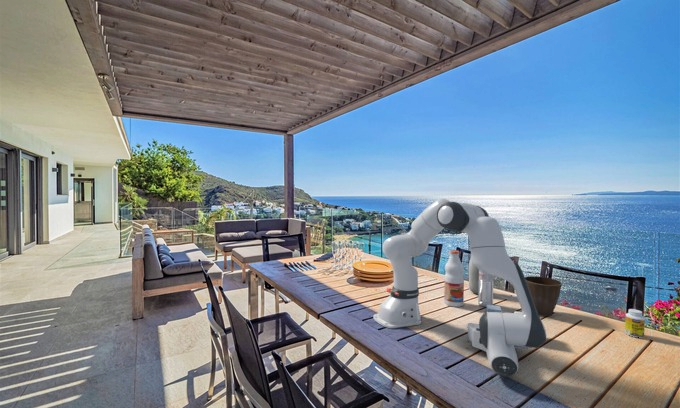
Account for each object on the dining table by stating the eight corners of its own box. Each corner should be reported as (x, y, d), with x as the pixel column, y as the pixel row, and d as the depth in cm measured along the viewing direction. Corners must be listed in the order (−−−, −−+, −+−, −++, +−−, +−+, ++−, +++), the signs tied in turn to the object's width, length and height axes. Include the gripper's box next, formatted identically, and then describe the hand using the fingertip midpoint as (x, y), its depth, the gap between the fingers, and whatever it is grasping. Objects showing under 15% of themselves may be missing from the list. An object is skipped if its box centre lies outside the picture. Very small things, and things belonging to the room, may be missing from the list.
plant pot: (524, 315, 138) (525, 282, 137) (522, 305, 151) (522, 274, 151) (564, 322, 131) (564, 287, 130) (557, 310, 144) (558, 278, 144)
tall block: (500, 334, 120) (501, 310, 120) (487, 332, 122) (487, 308, 122) (499, 329, 125) (499, 306, 124) (486, 327, 127) (486, 304, 126)
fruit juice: (453, 299, 160) (454, 248, 158) (467, 305, 151) (468, 251, 150) (440, 302, 156) (440, 250, 155) (453, 308, 147) (454, 253, 146)
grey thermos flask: (488, 292, 171) (488, 244, 170) (486, 297, 162) (486, 247, 161) (469, 289, 176) (470, 243, 175) (467, 294, 167) (467, 245, 166)
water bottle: (494, 308, 147) (495, 259, 146) (480, 307, 149) (481, 258, 148) (490, 303, 154) (491, 256, 153) (476, 302, 155) (477, 255, 154)
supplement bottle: (630, 337, 117) (631, 312, 117) (621, 331, 122) (622, 307, 122) (647, 339, 115) (648, 314, 115) (638, 333, 121) (639, 308, 120)
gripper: (533, 339, 99) (526, 322, 112) (468, 328, 107) (467, 314, 120) (533, 358, 99) (525, 339, 112) (467, 345, 107) (467, 329, 120)
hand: (495, 326), depth 116 cm, fingers open, 8 cm apart
